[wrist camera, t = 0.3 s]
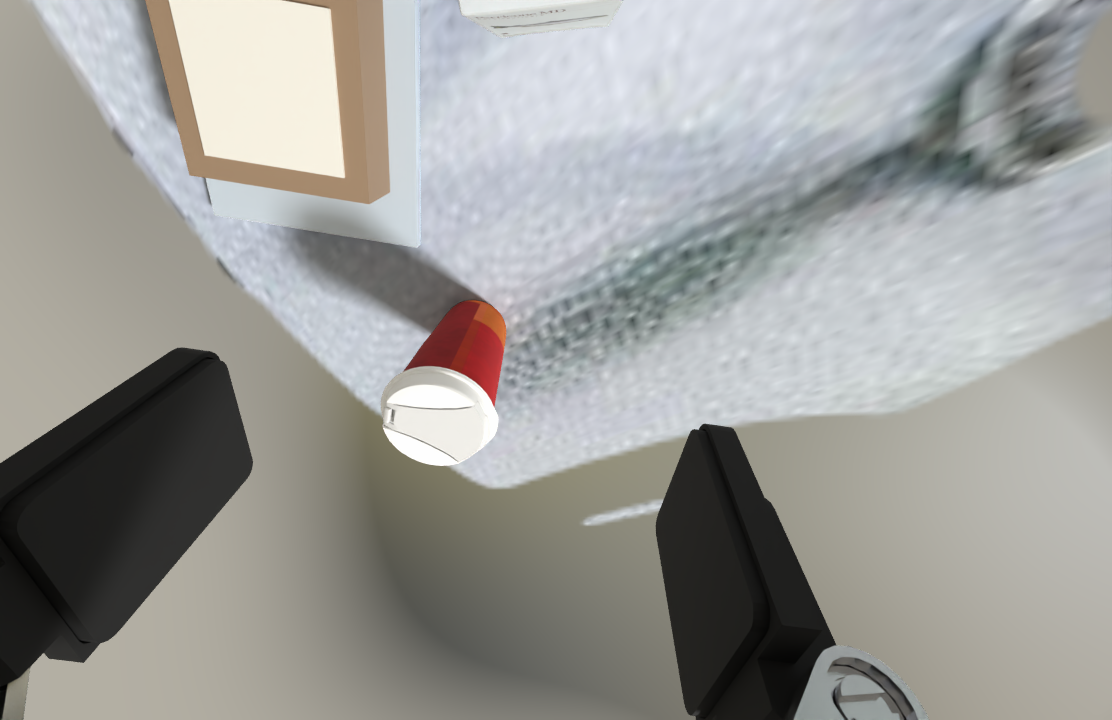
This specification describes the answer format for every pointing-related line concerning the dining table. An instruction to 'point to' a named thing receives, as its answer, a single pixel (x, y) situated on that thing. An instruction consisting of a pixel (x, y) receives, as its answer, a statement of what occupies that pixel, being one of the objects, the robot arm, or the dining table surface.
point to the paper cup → (448, 388)
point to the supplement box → (538, 15)
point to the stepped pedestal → (300, 110)
